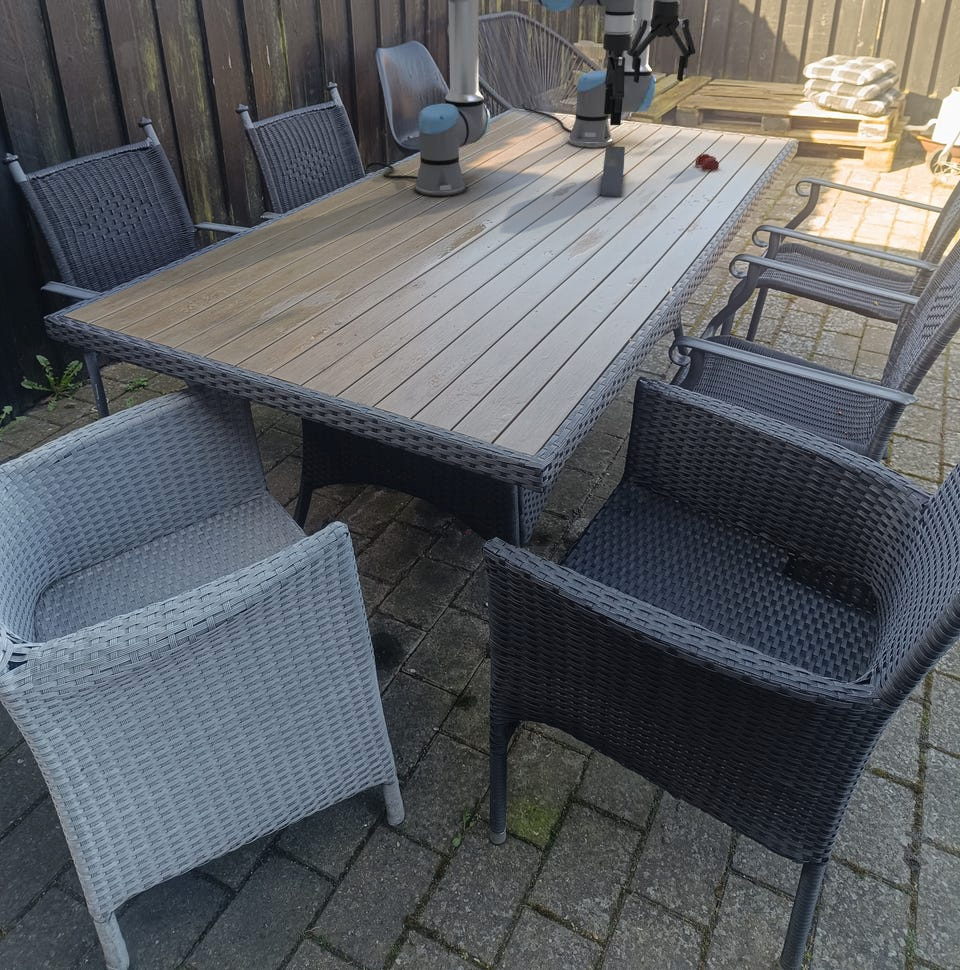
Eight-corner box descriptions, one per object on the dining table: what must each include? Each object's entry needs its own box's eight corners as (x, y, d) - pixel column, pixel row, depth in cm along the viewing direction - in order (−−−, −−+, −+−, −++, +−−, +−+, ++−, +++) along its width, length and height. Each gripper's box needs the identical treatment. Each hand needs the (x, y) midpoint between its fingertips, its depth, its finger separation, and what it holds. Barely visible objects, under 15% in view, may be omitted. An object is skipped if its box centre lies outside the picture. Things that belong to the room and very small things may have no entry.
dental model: (710, 150, 279) (721, 156, 273) (708, 163, 282) (719, 170, 275) (694, 152, 278) (705, 158, 272) (693, 165, 281) (704, 172, 274)
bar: (621, 196, 253) (623, 166, 248) (601, 196, 253) (603, 165, 248) (622, 175, 271) (625, 146, 266) (603, 174, 272) (606, 145, 267)
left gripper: (640, 39, 210) (632, 129, 222) (626, 26, 230) (619, 109, 243) (610, 39, 210) (603, 129, 222) (598, 26, 230) (593, 109, 243)
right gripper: (628, 2, 235) (621, 85, 248) (713, 0, 238) (702, 82, 251) (621, -1, 241) (614, 79, 254) (704, -3, 244) (693, 77, 257)
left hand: (611, 119), depth 233 cm, fingers open, 13 cm apart
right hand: (657, 81), depth 252 cm, fingers open, 13 cm apart
